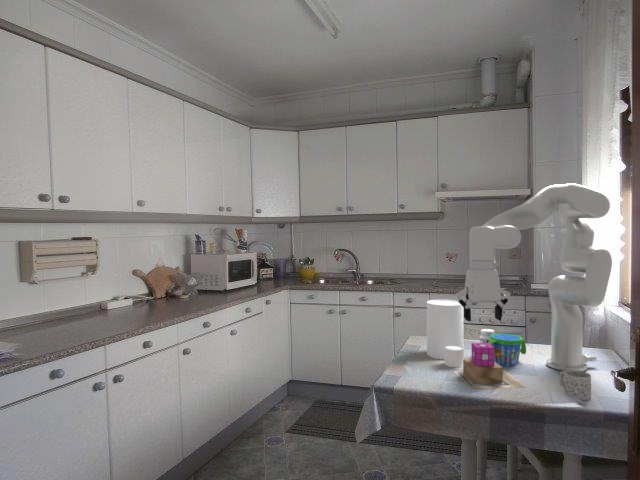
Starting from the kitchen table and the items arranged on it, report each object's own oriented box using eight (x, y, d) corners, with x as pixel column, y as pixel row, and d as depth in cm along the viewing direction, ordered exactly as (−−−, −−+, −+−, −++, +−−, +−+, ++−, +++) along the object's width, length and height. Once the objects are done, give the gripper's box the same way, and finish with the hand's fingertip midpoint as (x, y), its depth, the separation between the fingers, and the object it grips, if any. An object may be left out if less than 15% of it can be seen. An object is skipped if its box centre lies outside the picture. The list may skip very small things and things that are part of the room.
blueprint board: (503, 372, 152) (503, 369, 152) (527, 390, 136) (527, 386, 136) (453, 374, 152) (453, 370, 152) (471, 391, 136) (471, 387, 136)
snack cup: (516, 359, 167) (516, 331, 167) (535, 368, 157) (535, 338, 157) (477, 362, 164) (477, 334, 164) (494, 371, 154) (495, 341, 153)
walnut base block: (490, 373, 149) (490, 358, 148) (502, 383, 140) (502, 367, 139) (463, 374, 148) (463, 359, 148) (473, 384, 139) (473, 368, 139)
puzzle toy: (489, 360, 146) (489, 343, 146) (494, 366, 141) (494, 347, 140) (471, 360, 147) (471, 342, 147) (475, 365, 141) (475, 347, 141)
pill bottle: (497, 355, 172) (497, 329, 172) (494, 359, 168) (494, 332, 167) (481, 353, 175) (481, 327, 175) (478, 357, 171) (478, 330, 170)
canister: (463, 360, 166) (463, 306, 166) (425, 358, 170) (425, 304, 169) (463, 350, 179) (463, 300, 179) (427, 348, 183) (427, 298, 182)
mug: (596, 400, 129) (596, 376, 128) (576, 402, 127) (576, 378, 127) (570, 387, 138) (570, 366, 138) (551, 389, 137) (551, 367, 137)
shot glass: (465, 371, 155) (465, 350, 154) (444, 370, 156) (444, 349, 156) (463, 365, 161) (463, 345, 161) (443, 364, 163) (443, 344, 163)
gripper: (504, 263, 147) (504, 316, 147) (451, 265, 146) (451, 318, 147) (515, 266, 139) (515, 321, 140) (459, 267, 138) (460, 323, 139)
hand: (483, 319), depth 143 cm, fingers open, 9 cm apart
